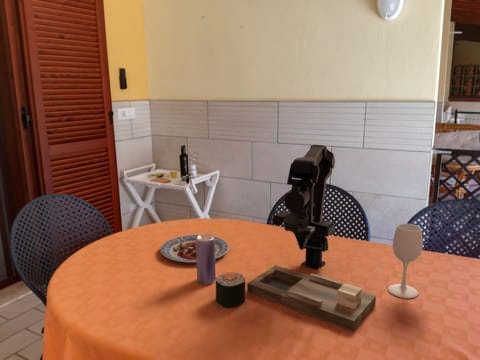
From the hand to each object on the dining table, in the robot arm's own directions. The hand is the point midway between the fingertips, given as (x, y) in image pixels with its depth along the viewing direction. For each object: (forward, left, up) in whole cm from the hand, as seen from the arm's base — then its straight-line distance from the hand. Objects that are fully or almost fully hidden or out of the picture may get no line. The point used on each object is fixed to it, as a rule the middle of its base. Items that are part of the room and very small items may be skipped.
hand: (301, 249), depth 128 cm
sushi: (+20, -12, -13) cm, 27 cm away
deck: (+5, +6, -13) cm, 15 cm away
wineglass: (-16, +27, -13) cm, 34 cm away
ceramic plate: (0, -45, -13) cm, 47 cm away
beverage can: (+15, -26, -13) cm, 33 cm away
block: (+5, +18, -10) cm, 21 cm away
